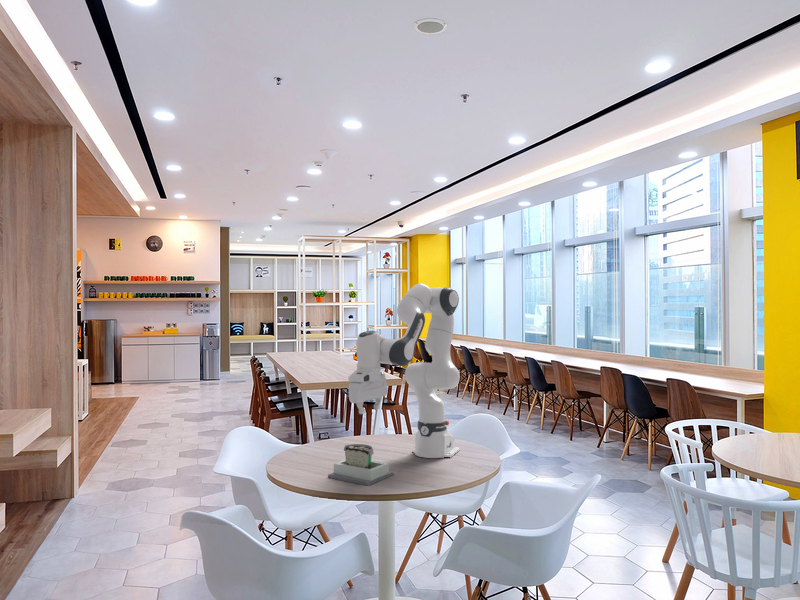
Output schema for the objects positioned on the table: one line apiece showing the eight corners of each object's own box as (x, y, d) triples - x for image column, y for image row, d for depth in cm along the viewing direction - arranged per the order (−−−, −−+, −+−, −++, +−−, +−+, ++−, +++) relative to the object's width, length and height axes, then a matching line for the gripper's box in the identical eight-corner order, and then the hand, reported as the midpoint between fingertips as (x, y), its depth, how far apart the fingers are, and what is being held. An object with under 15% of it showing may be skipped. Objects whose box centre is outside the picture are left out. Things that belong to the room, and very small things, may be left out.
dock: (355, 467, 211) (355, 455, 211) (393, 474, 201) (393, 462, 201) (328, 477, 197) (328, 464, 197) (368, 485, 187) (368, 472, 188)
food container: (380, 474, 198) (380, 446, 198) (370, 478, 193) (370, 449, 193) (354, 468, 205) (354, 442, 205) (343, 472, 200) (343, 445, 200)
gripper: (377, 370, 213) (378, 405, 213) (345, 377, 196) (346, 415, 196) (391, 371, 210) (391, 407, 210) (359, 378, 193) (360, 417, 193)
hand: (369, 411), depth 203 cm, fingers open, 8 cm apart
